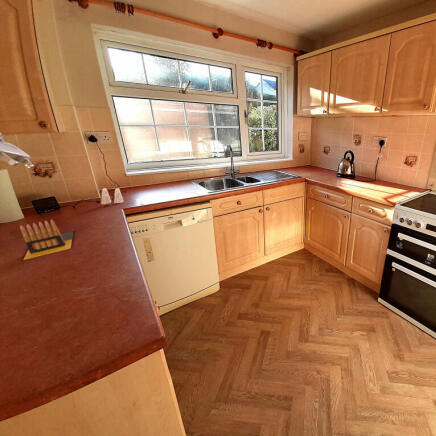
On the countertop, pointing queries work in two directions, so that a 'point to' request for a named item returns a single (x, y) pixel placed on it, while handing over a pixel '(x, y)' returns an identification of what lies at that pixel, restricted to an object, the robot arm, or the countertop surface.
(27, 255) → the sorting board
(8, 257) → the countertop surface
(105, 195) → the shaker set
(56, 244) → the ammunition clip
